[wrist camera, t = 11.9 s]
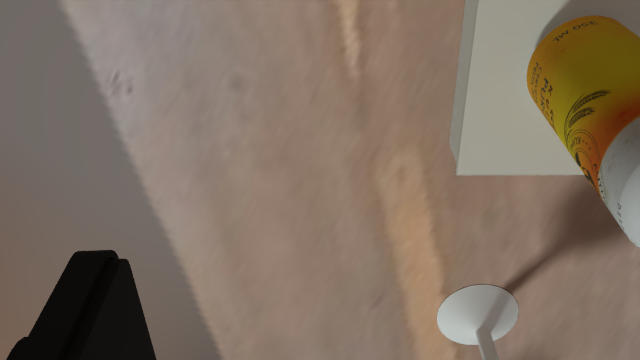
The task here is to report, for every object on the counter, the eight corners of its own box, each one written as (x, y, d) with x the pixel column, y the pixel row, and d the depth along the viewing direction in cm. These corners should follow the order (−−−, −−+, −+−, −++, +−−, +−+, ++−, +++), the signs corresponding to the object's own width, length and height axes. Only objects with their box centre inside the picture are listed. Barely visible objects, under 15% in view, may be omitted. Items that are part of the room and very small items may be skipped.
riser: (471, -79, 35) (487, -67, 31) (690, -80, 35) (730, -68, 31) (445, 145, 42) (456, 175, 39) (626, 145, 42) (652, 174, 39)
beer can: (501, 64, 35) (599, 212, 22) (593, -13, 33) (762, 103, 20) (562, 131, 37) (684, 301, 24) (652, 63, 35) (840, 211, 22)
